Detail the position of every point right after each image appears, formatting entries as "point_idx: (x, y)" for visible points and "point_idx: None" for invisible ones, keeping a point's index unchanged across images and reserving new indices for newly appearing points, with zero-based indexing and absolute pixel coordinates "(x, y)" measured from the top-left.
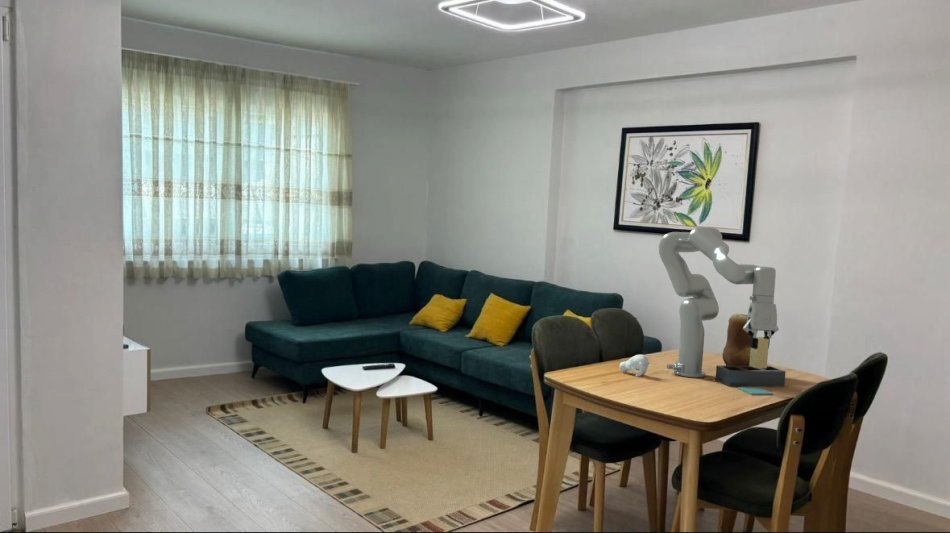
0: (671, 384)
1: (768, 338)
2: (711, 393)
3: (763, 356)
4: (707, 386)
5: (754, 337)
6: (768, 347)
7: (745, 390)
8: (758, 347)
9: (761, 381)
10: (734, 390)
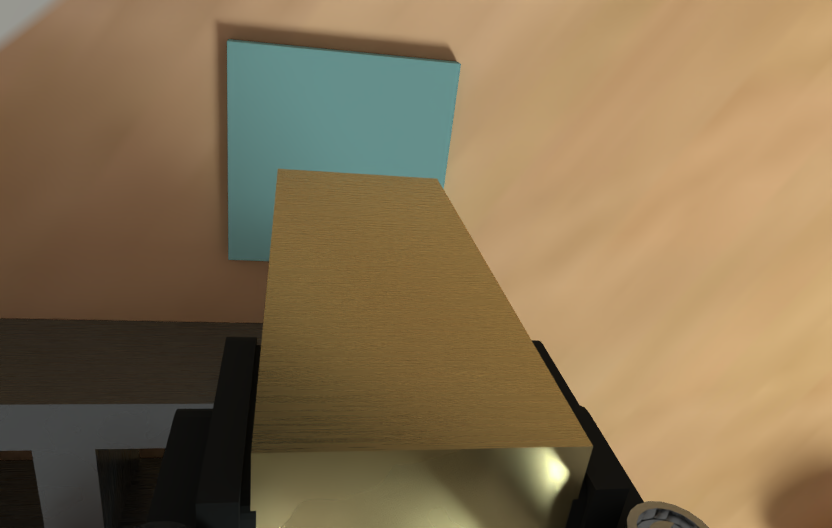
0: (817, 385)
1: (232, 499)
2: (755, 147)
3: (353, 238)
4: (617, 335)
5: (648, 524)
6: (233, 345)
7: (441, 166)
8: (501, 323)
9: (146, 344)
10: (494, 218)
